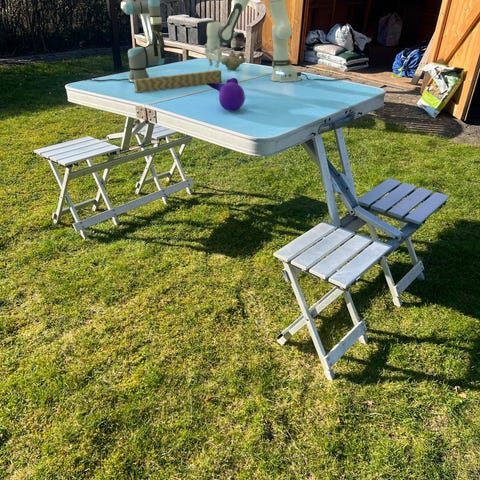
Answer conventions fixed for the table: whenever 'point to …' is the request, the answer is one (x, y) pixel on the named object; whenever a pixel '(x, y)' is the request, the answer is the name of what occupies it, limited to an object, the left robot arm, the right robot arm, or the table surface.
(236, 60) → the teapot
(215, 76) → the bar
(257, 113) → the table surface
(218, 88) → the toy
